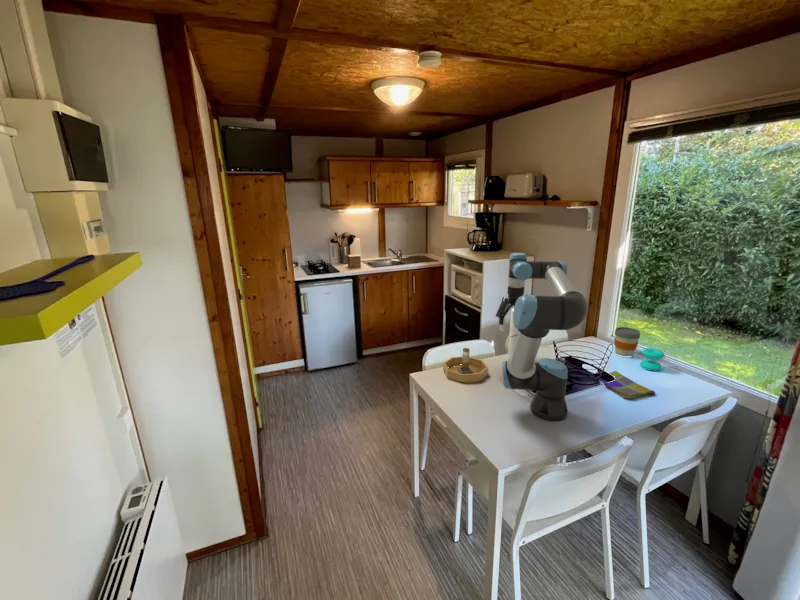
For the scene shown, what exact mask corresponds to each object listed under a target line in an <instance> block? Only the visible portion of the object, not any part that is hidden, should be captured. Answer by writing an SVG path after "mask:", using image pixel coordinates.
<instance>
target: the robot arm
mask: <svg viewBox="0 0 800 600" xmlns="http://www.w3.org/2000/svg"><path fill="white" fill-rule="evenodd" d="M508 265H509V267H508V282H507V285H508V286H507V295H508V296H507V297H506V296H503V297H502V299H501V303H500V304H499V305H500V306H498V309H497V311H496V314H495V317H497V318H498V325H499V331H501V332H505V330H506V329H505V328H506V316H507V315H508V313H509V311H510V310H511V309H512V308H514V312H513V323H514V326H515V327H516V328H517V329H518V331H519V332H518V336H517V340H516V344H515V348H514V352H513V356H511V357H510V358H509V359H508V358H507V360H504V361H502V362H501V365H502V382H503V387H504V388H505V389H508V390H509V389H510V390H519V391H520V390H522V391H535V393H534V395H533V397H532V399H531V401H530V407H529V410H530V412H531V413H532V414H533V415H534V416H535V417H537V418H539V419H542V420H545V421H551V422H559V421H560V422H561V421H563V420H565V419H566V418H567V417H568V413H569V411H568V405H567V402H566V390H567V381H568V377H569V376H568V373H569V372H568V371H569V370H568V367H567V366H566V365H565V364H564V363H563V362H561V361H560V360H556V359H554V358H549V357H542V358H540V359H538V362H535V361H536V358H537V355H538V352H539V349H540V346H541V343H542V339H543V338H544V337H545V338H546V336H548V334H549V333H550V330H551V331H556V330H557V331H569V330H571V329H575V328H576V327H578V326H579V325H580V324H582V322H583V321H584V320H585V318H586V316H587V315H588V310H589V306H588V305H589V304H588V301H587V299H586V298H585V296H584V295H583V294H582V293H580V292H579V291H577V289H576V288H575V287H574V285H573V284H572V282H571V281H570V279H569V278H568V276H567V275H568V267H567V263H566V262H565V261H559V260H557V261H538V260H537V261H531V260H530V261H528V255H527V254H526V253H524V252H512V253H511V254H510V255H509V264H508ZM528 279H531V280H532V279H536V280H537V279H538V280H540V279H541V280H546V282H547V285H549V288H550V290H551V292H552V294H553V295H534V294H529V295H528V294H526V293H525V285H526V280H528Z"/></svg>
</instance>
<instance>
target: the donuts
mask: <svg viewBox="0 0 800 600" xmlns="http://www.w3.org/2000/svg"><path fill="white" fill-rule="evenodd" d="M641 353H642V355H643V356H644V357H645V358H647V359H643V360H641V361H640V362H639V366H640V367H641V368H642V367H643V368H642V369H644V368H645V370H646V369H648V370H647V371H650V370H655V371H654V372H657V371H656V370H660V371H661V370H662V369H663V365H662V364H661V363H660V362H659V361H656V360H662V359H664V357H665V353H664V352H663V351H662V350H660V349H657V348H652V347H651V348H650V347H646V348H644V349H642V351H641Z"/></svg>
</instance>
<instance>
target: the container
mask: <svg viewBox="0 0 800 600" xmlns="http://www.w3.org/2000/svg"><path fill="white" fill-rule="evenodd" d="M510 310H511V311H510V322H509V324H510V325H509V336H508V337H509V338H508V349H507V350H508V352H507V360H508V359H509V358H510V357H511V356H513V352H514V348H515V344H516V340H517V336H518V332H519V331H518V329H517V328H516V327H515V326H514V323H513V312H514V307H512V308H510Z"/></svg>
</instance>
